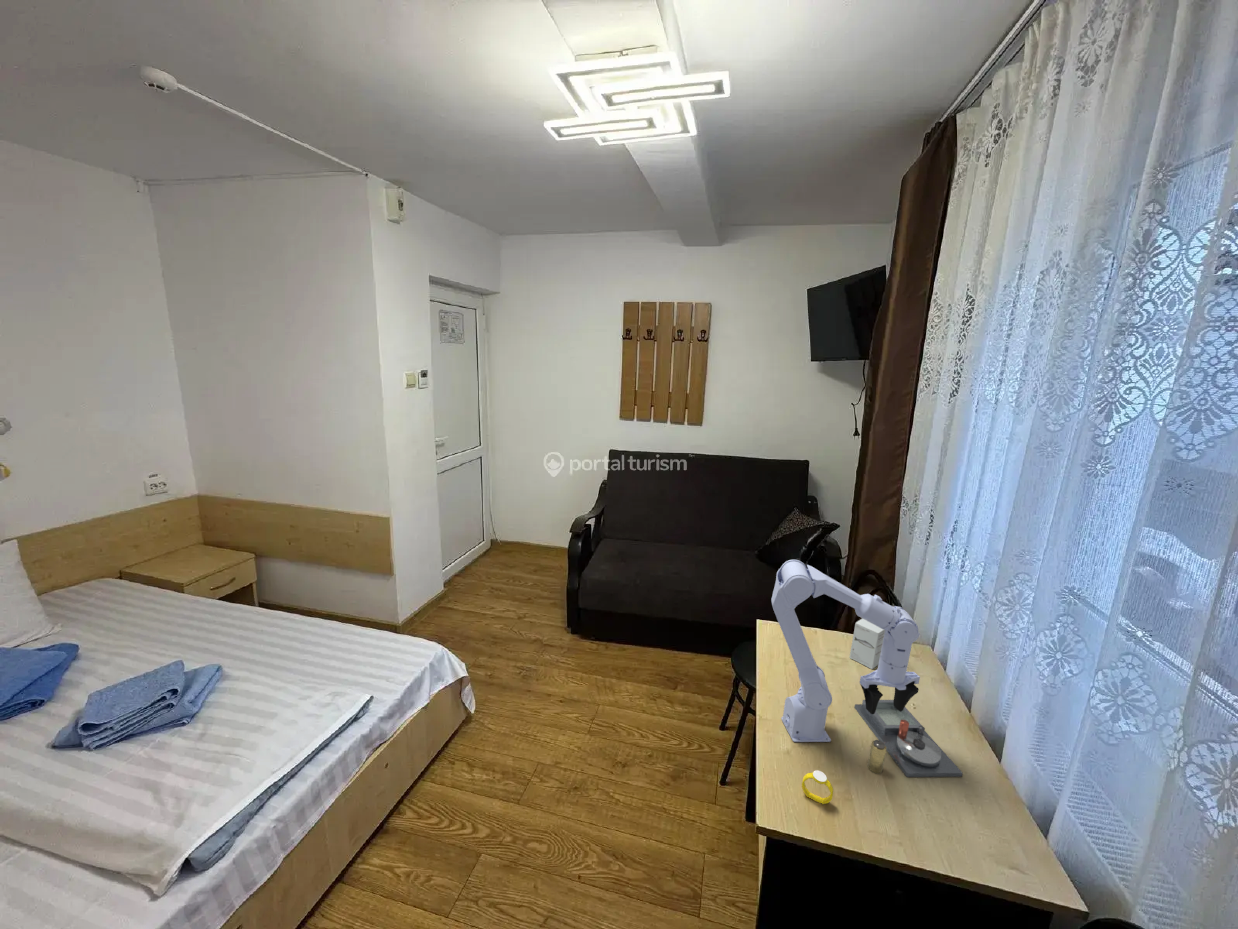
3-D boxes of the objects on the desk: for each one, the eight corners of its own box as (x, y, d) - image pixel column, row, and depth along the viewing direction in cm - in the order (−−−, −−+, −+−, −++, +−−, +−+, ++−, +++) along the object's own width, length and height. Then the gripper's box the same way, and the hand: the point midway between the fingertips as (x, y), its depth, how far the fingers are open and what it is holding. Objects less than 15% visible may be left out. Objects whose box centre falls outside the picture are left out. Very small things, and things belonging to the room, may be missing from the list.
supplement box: (848, 658, 150) (854, 622, 148) (859, 650, 155) (865, 615, 152) (872, 670, 145) (878, 633, 142) (883, 662, 149) (889, 625, 147)
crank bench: (906, 777, 107) (909, 762, 106) (854, 707, 128) (856, 694, 127) (961, 776, 108) (965, 761, 107) (900, 707, 129) (902, 694, 128)
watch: (830, 801, 100) (836, 778, 99) (828, 811, 98) (835, 788, 97) (801, 786, 103) (806, 764, 102) (798, 796, 101) (804, 773, 99)
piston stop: (872, 773, 107) (876, 749, 106) (864, 762, 110) (869, 738, 109) (884, 773, 108) (889, 749, 106) (877, 762, 110) (881, 738, 109)
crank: (944, 752, 113) (949, 732, 112) (934, 773, 107) (938, 752, 105) (902, 730, 119) (906, 711, 118) (890, 749, 113) (894, 729, 112)
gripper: (878, 673, 106) (868, 725, 109) (934, 668, 109) (923, 719, 112) (857, 654, 113) (848, 703, 116) (910, 650, 116) (900, 698, 119)
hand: (883, 710), depth 114 cm, fingers open, 7 cm apart
